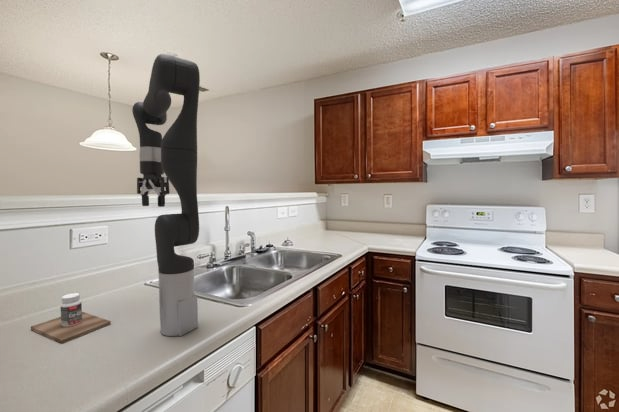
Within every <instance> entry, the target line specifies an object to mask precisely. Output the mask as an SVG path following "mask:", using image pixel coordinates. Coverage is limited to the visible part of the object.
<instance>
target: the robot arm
mask: <svg viewBox="0 0 619 412" xmlns="http://www.w3.org/2000/svg"><path fill="white" fill-rule="evenodd" d="M200 76H201V74H200V69H199V66H198V64H197V63H195V62H193V61H191V60H189V59H188V60H187V59H184V58H180V57H177V56H174V55H171V54H165V53H160V54H158V55H157V56H156V57H155V59H154V61H153V64H152V68H151V73H150V78H149V85H148V91H147V94H146V95H145V98H144V100H143V102H142V101H137V102H135V103H134V104H133V106H132V110H131V111H132V115H133V118H134V121H135V123H136V127H137V131H138V135H139V136H138V138H139V153H138V154H139V173H140V174H141V175H143V177H137V178H136V193H137V195H140V196H141V205H142V207H149V206H150V196H149V195H150V193H151V192H152V191H154V192H156V195H157V206H158V208H162V207H163V208H164V207H165V206H166V196H167V195H170V184H171V185H172V187H173V188H174V190H175V191H176V193H177V195H178V198H179V201H180V206H181V212H180V213H168V214H167V213H165V214H161V215H158V216H157V218H156V219H155V222H154V240H155V251H156V260H157V267H158V269H157V270H158V299H159V321H160V323H159V324H160V333H161V335H163V336H168V337H174V336H175V337H176V336H177V337H182V336H184V335H186V334H187V333H189V332H191V331H193V330H195V329H196V328H198V327H199V319H198V315H199V314H198V313H199V312H198V308H199V307H198V295H196V293H195V262H194V259H193V257H190V256H186V255H180V254H177V253H176V252H175V247H182V246H187V245H193V244H195V243H196V242H197V240H198V238H199V234H200V217H199V203H198V193H197V192H198V190H197V189H198V187H197V185H198V183H197V182H198V181H197V178H198V175H197V174H198V125H197V124H198V108H199V107H198V106H199V96H200ZM171 94H174V95H177V96H183V103H182V108H181V110H180V111H179V112H180V113H179V114H178V116H177V118H176V119H175V121H173V123H172V124H171V125H170V127H169V128H168V129H167V131H166V132H165V134H164V135H163V136H162V133H161V132H159V131H158V130H153V129H151V128H149V127H148V125H152V126H153V125H154V126H163V125H165V124H166V123H167V120H168V119H167V118H168V115H167V114H168V113H167V112H168V110H169V109H170V107H171V105H172V97H171ZM164 174H165V176H162V175H164Z"/></svg>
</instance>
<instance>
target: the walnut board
mask: <svg viewBox="0 0 619 412" xmlns="http://www.w3.org/2000/svg"><path fill="white" fill-rule="evenodd" d="M111 323H112V322H111V320H108V319H106V318H103V317H99V316H96V315H94V314H90V313H87V312H84V311H82V322H81V323H79V324H77V325H74V326H70V327H63V326H62V325H61V316H59V317H56V318H53V319H50V320H47V321H44V322H41V323H38V324H35V325H32V326H30V330H31V331H33V332H34V333H37V334H39V335H41V336H43V337H45V338H48V339H50V340H53V341H54V342H56V343H59V344H65V343H68V342H70V341H72V340H76V339H78V338H80V337H82V336H85V335H88V334H90V333H92V332H95V331H97V330H101V329H103V328H106V327H108V326H110V325H111Z"/></svg>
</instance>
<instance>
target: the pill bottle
mask: <svg viewBox="0 0 619 412" xmlns="http://www.w3.org/2000/svg"><path fill="white" fill-rule="evenodd" d="M80 298H81V297H80V293H79V292H78V293H76V292H75V293H74V292H72V293H67V294H64V295H63V296H61V302H62V303H61V304H60V317H61V325H62V326H63V327H70V326H74V325H77V324H79V323H81V322H82V312H83V310H82V309H83V308H82V307H83V306H82V300H81V299H80Z"/></svg>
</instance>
